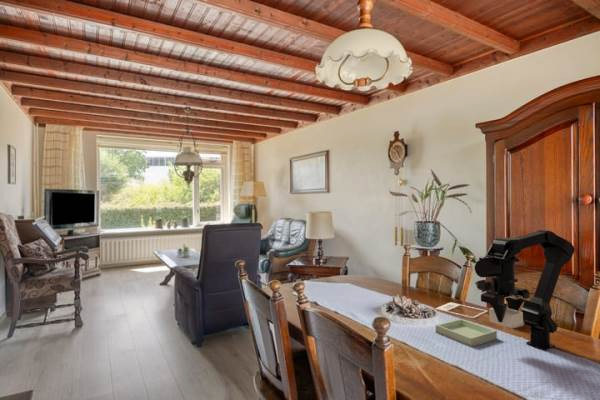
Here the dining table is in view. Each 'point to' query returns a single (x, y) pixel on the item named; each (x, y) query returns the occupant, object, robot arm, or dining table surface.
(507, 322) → the small crate
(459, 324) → the green tray
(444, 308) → the photo frame
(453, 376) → the dining table surface
